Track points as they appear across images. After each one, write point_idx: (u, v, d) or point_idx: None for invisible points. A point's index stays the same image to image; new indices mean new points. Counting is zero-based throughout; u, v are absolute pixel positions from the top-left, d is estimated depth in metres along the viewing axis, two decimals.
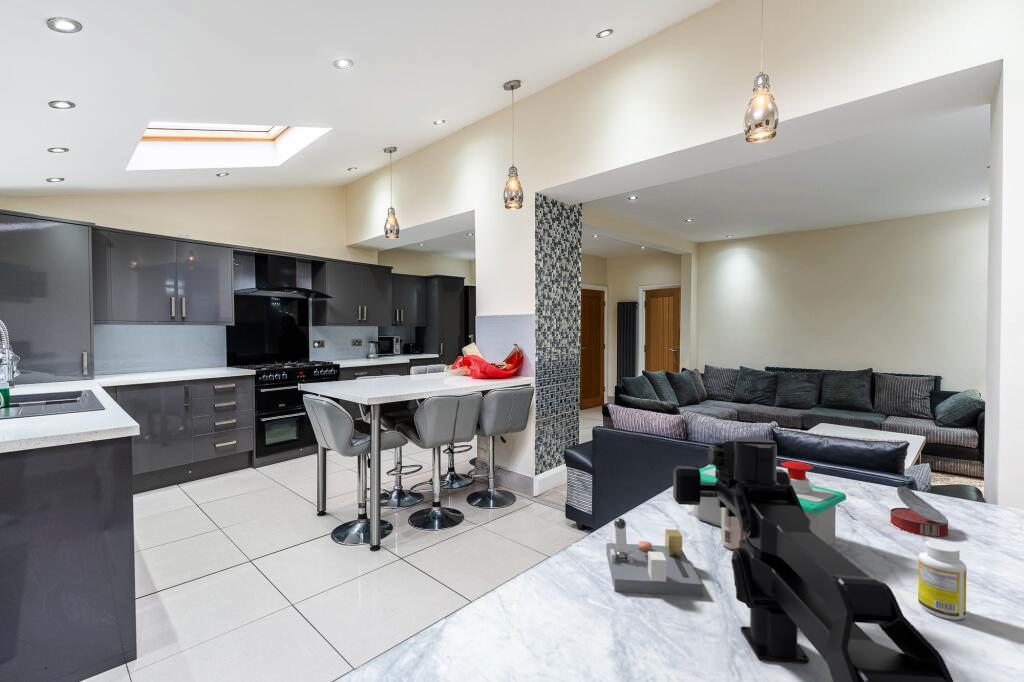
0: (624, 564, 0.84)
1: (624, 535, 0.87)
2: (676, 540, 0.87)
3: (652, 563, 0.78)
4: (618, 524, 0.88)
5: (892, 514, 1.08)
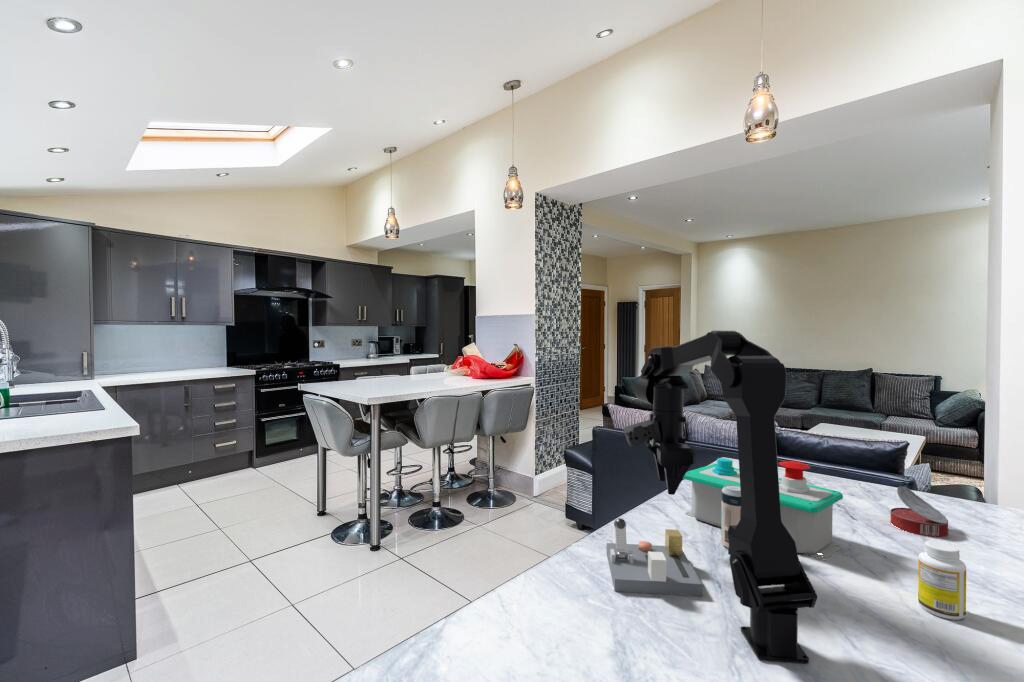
0: (624, 564, 0.84)
1: (624, 535, 0.87)
2: (676, 540, 0.87)
3: (652, 563, 0.78)
4: (618, 524, 0.88)
5: (892, 514, 1.08)
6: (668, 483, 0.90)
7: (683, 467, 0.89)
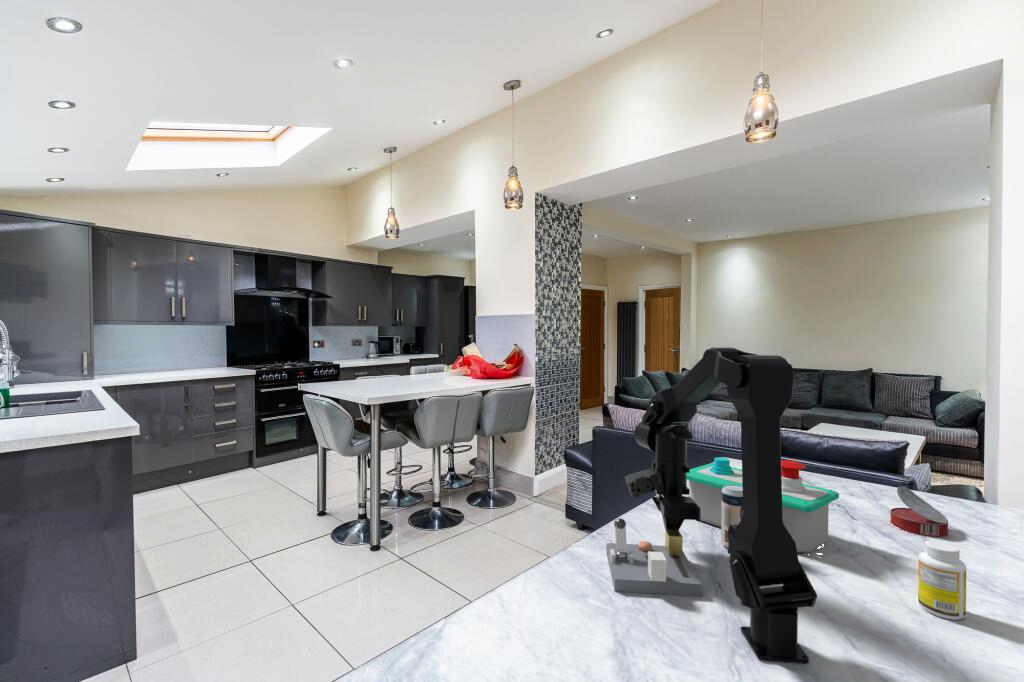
0: (624, 564, 0.84)
1: (624, 535, 0.87)
2: (676, 541, 0.87)
3: (652, 563, 0.78)
4: (618, 524, 0.88)
5: (892, 514, 1.08)
6: (667, 529, 0.91)
7: None
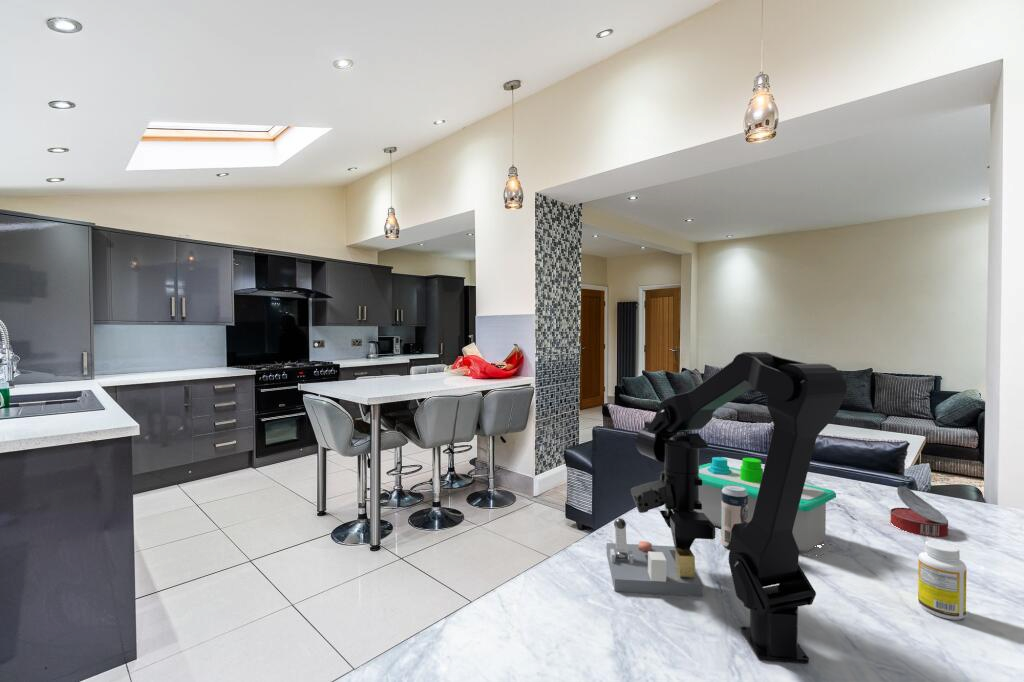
0: (624, 564, 0.84)
1: (624, 535, 0.87)
2: (688, 561, 0.79)
3: (652, 563, 0.78)
4: (618, 524, 0.88)
5: (892, 514, 1.08)
6: (677, 547, 0.83)
7: None
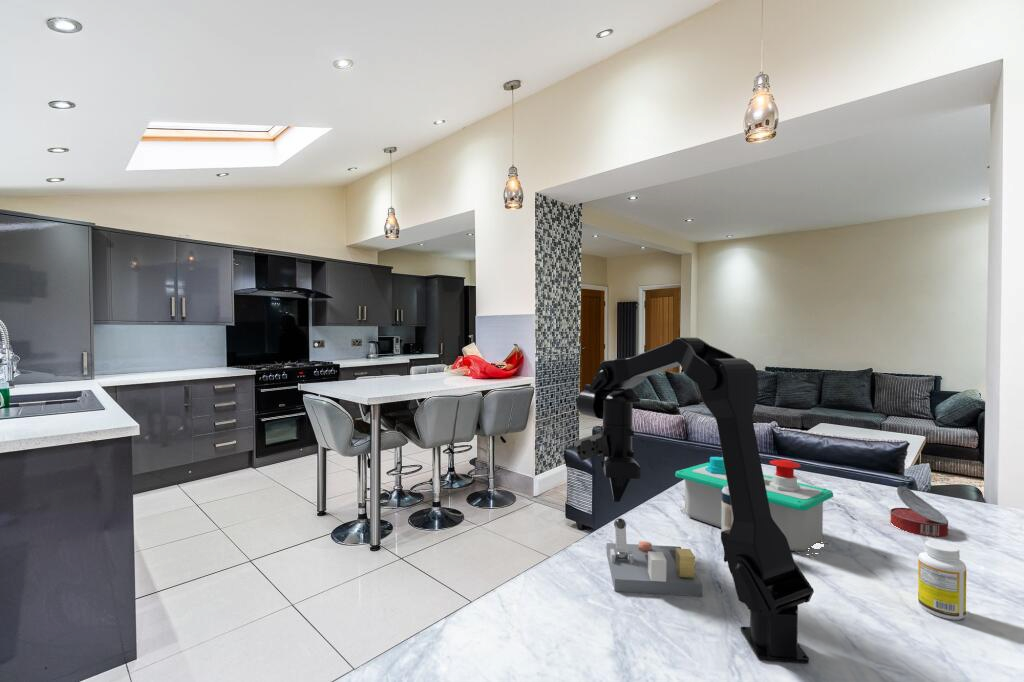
0: (624, 564, 0.84)
1: (624, 535, 0.87)
2: (688, 561, 0.79)
3: (652, 563, 0.78)
4: (618, 524, 0.88)
5: (892, 514, 1.08)
6: (613, 491, 0.94)
7: None
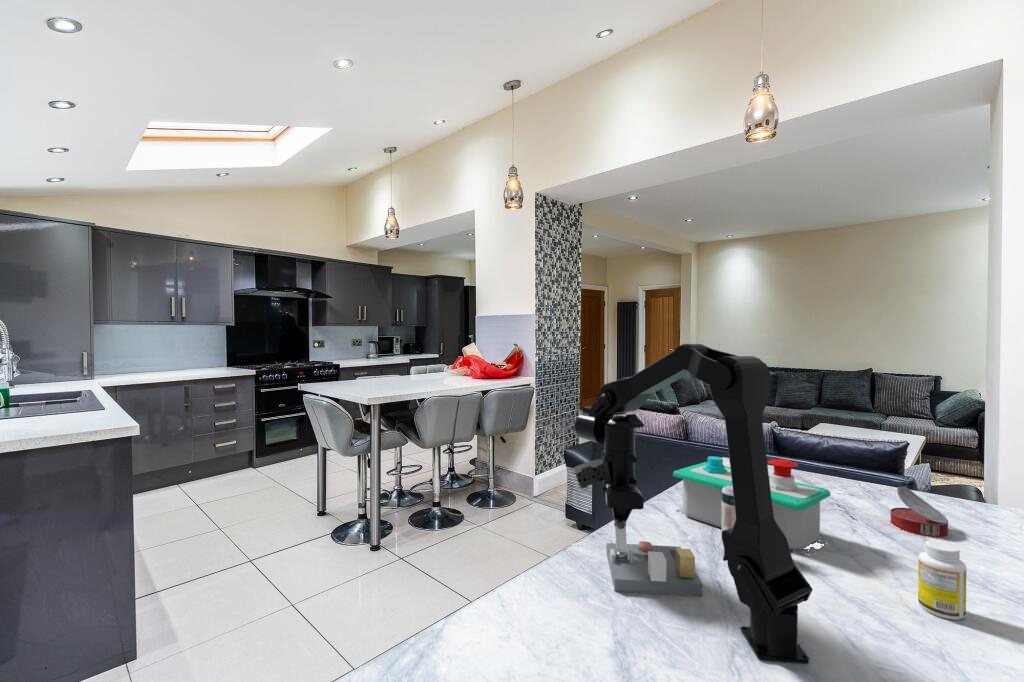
0: (624, 564, 0.84)
1: (624, 535, 0.87)
2: (688, 561, 0.79)
3: (652, 563, 0.78)
4: (618, 524, 0.88)
5: (892, 514, 1.08)
6: (615, 519, 0.90)
7: None
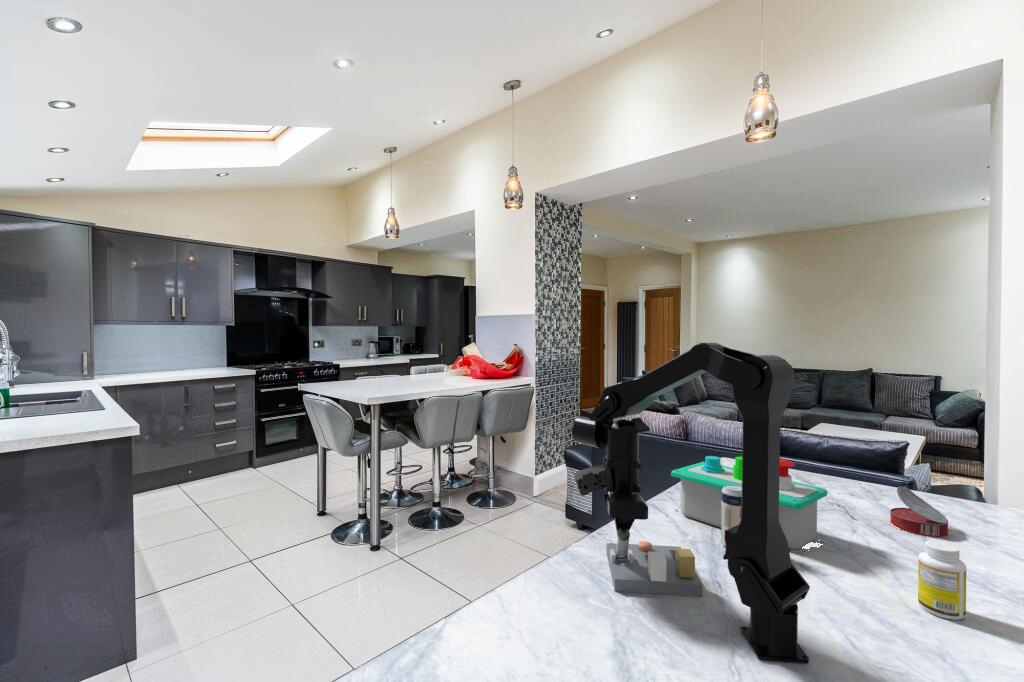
0: (624, 564, 0.84)
1: (626, 545, 0.84)
2: (688, 561, 0.79)
3: (652, 563, 0.78)
4: (621, 538, 0.83)
5: (892, 514, 1.08)
6: (617, 528, 0.85)
7: None
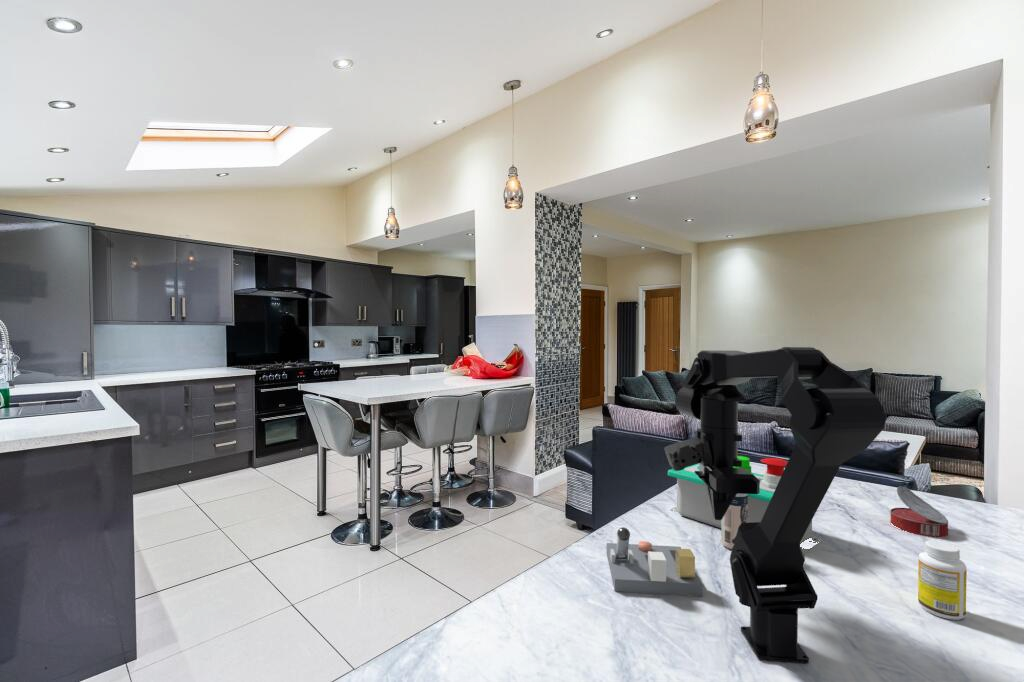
0: (624, 564, 0.84)
1: (626, 545, 0.84)
2: (688, 561, 0.79)
3: (652, 563, 0.78)
4: (621, 538, 0.83)
5: (892, 514, 1.08)
6: (715, 507, 0.78)
7: None
